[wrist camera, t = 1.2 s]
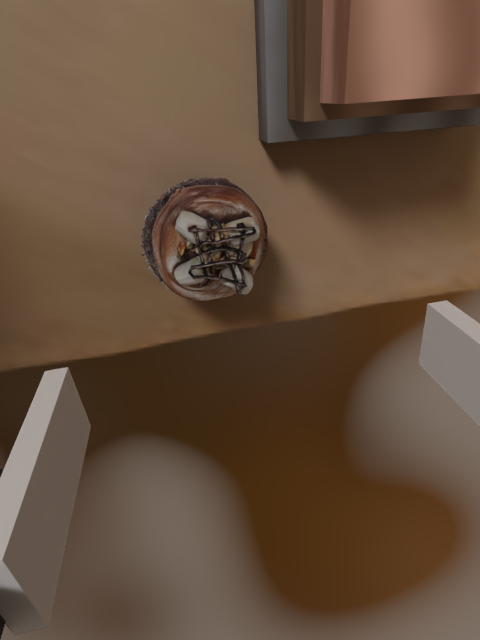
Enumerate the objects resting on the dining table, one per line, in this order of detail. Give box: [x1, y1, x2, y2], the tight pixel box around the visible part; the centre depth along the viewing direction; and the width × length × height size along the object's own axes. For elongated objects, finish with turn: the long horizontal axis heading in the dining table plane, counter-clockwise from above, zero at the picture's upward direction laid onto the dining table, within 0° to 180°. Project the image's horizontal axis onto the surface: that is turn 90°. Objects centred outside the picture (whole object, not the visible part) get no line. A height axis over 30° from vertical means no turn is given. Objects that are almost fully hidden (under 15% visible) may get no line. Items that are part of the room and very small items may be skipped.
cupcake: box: [140, 178, 268, 301], centre depth 31 cm, size 10×10×10 cm
